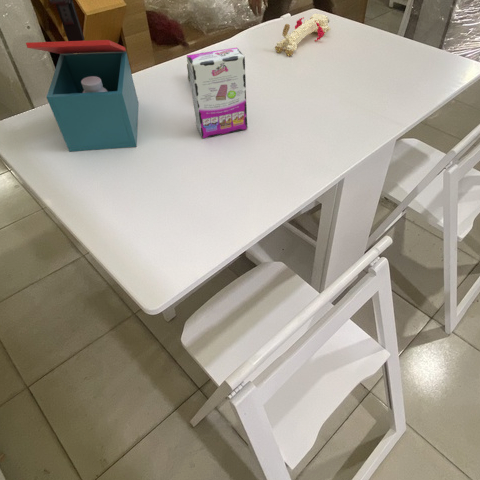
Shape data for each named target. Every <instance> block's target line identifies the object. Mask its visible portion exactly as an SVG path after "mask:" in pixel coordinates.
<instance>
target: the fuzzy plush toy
mask: <svg viewBox="0 0 480 480" xmlns="http://www.w3.org/2000/svg"><path fill="white" fill-rule="evenodd" d="M302 20H304V21H303V22H302ZM329 23H330V19H329V17H328V16H327V15H324V14H321V13H317V12H316V13H313V14H312V15H311V16H310V17H309V20H308V19H305V17H304V16H303V17H301V18H299V19H297V20H296V24H295V25H294V30H293V31H292V32H291V33H290V34H289V31H290V28H291V25H290V24H288V23H286V24H284V26H283V29H282V37H283V39H281V41H278V42H276V45H275V46H274V50H275V51H276V53H277V54H280V53H282V52H283V49H284V50H285V51H284V53H285V54H286V56H287V57H289V58H290V57H291V56H292V55H293V54H294V52H295V51H296V50H297V49H298V44H299V43H300V42H301V41H302V40H303V39H304V38H306V37H307V36H309V35H311V34H312V33H317V37H316V39H315V40H314V42H318V41H319V40H320V41H321V39H322V38H323V37H324V36H325V34H326V33H327V32H330V31H331V29H332V27H331V26H329Z"/></svg>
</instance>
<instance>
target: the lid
mask: <svg viewBox="0 0 480 480" xmlns="http://www.w3.org/2000/svg"><path fill="white" fill-rule="evenodd" d="M25 46H26V48H27V49H32V50H37V51H41V52H42V51H43V52H48V53H53V54H59V55H60V54H77V53H104V52H127V48H126V46H123V45H121V44H119V43H117V42H115V41H112V40H110V39H95V40H94V39H92V40H84V41H68V40H66V41H65V40H64V41H63V40H62V41H40V42H39V41H35V42H34V41H33V42H25Z"/></svg>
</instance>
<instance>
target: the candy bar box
mask: <svg viewBox="0 0 480 480" xmlns="http://www.w3.org/2000/svg"><path fill="white" fill-rule="evenodd" d="M245 57H246V56H245V54H243V53H242V51H240V49H239V48H238V47H232V48H225V49H218V50H212V51H206V52H205V51H204V52H199V53H192V54H187V55H186V63H187V64H188V69H189V76H190V81H189V82H190V89H191V95H192V103H193V110H194V118H195V124H196V125H195V126H196V129H197V131H198V132H199V135H200V136H201V138H202V139H208V138H212V137H217V136H221V135H226V134H231V133H235V132H240V131H245V130H248V114H247V111H248V109H247V85H246V84H247V81H246V59H245Z"/></svg>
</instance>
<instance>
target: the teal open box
mask: <svg viewBox="0 0 480 480" xmlns="http://www.w3.org/2000/svg"><path fill="white" fill-rule="evenodd" d="M128 57H129V56H128V52H127V51H123V52H97V53H70V54H59V57H58V60H57V63H56V66H55V70H54V73H53V75H52V79H51V81H50V84H49V88H48V91H47V94H46V99H47V100H46V101H47V102H48V105H49V107H50V109H51V112H52V114H53V117H54V118H55V121H56V123H57V126H58V128H59V131H60V133H61V136H62V138H63V141H64V142H65V145H66V147H67V149H68V151H69V152H82V151H97V150H109V149H123V148H124V149H125V148H137V144H138V143H137V142H138V127H139V126H138V123H139V122H138V121H139V99H138V95H137V90H136V86H135V82H134V78H133V74H132V69H131V65H130V62H129V58H128ZM90 76H96V77H99V78H100V79H101V81H102V84H103V87H104V88H105V89H106V90H107V91H108V92H92V93H82V92H83V91H84V89H83V86H82V83H81V81H82V79H84V78H86V77H90Z"/></svg>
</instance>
